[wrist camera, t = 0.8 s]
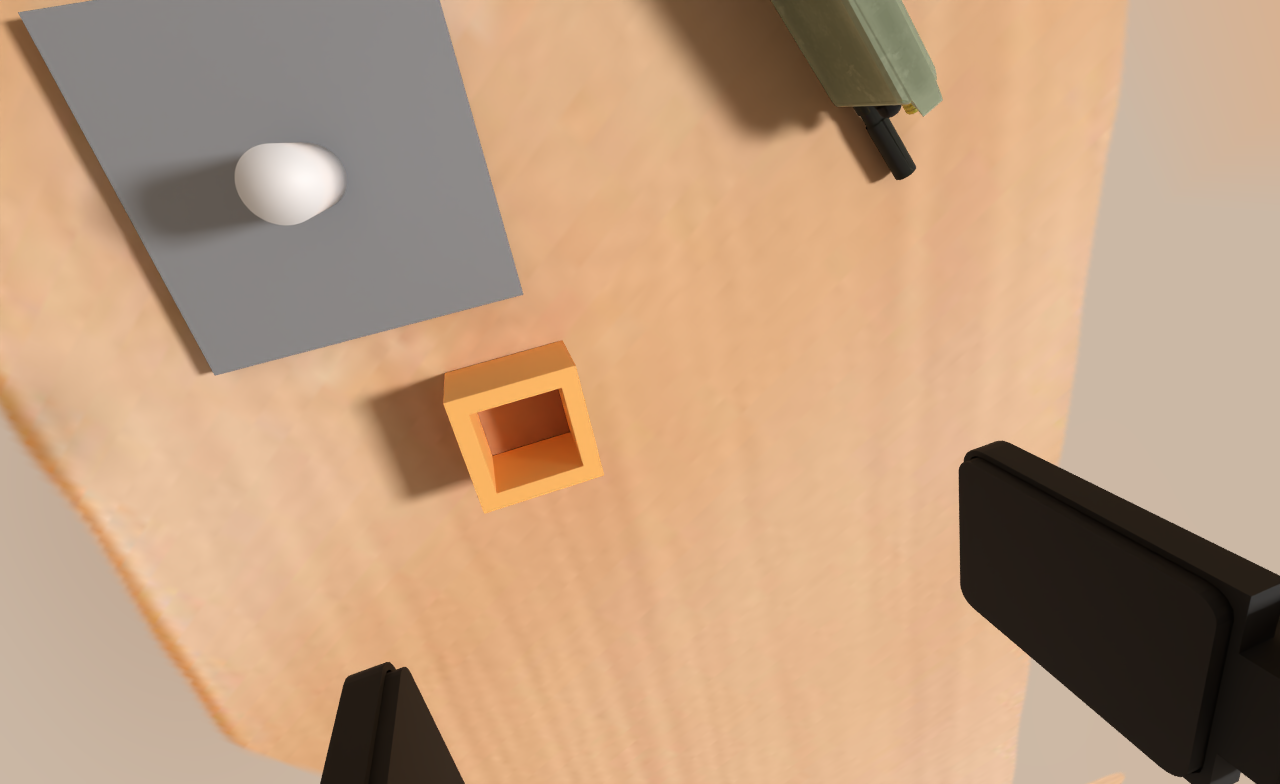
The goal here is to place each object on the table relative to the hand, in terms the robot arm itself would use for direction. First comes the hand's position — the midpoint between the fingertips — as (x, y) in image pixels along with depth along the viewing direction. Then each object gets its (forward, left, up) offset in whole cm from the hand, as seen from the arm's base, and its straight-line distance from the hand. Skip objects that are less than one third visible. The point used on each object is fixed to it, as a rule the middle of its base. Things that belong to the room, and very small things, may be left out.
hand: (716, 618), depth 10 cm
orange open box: (+8, -3, -28) cm, 29 cm away
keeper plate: (-7, -9, -28) cm, 30 cm away
